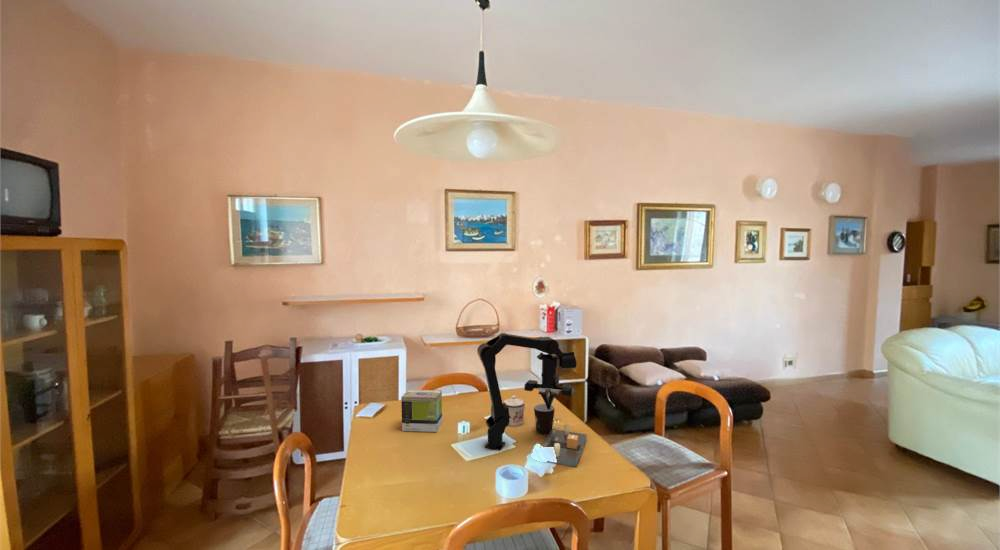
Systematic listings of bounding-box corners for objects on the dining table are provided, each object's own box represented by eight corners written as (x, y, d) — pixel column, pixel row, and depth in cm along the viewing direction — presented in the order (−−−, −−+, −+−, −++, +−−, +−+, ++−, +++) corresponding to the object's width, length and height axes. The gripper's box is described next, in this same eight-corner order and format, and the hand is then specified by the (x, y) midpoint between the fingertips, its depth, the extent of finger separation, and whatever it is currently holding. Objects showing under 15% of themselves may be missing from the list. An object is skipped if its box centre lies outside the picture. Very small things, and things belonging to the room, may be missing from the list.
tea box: (442, 423, 180) (442, 389, 179) (436, 433, 170) (436, 397, 170) (408, 421, 182) (408, 388, 181) (401, 431, 172) (400, 396, 171)
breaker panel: (576, 467, 143) (576, 459, 143) (537, 460, 148) (537, 452, 148) (586, 440, 164) (586, 434, 164) (551, 435, 169) (551, 428, 169)
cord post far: (568, 437, 161) (568, 427, 161) (563, 436, 162) (563, 426, 162) (569, 435, 163) (569, 425, 163) (564, 434, 164) (564, 424, 163)
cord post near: (559, 457, 145) (559, 445, 145) (553, 456, 146) (553, 445, 146) (560, 454, 147) (560, 443, 147) (554, 453, 148) (555, 442, 148)
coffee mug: (553, 436, 167) (554, 412, 167) (532, 434, 169) (532, 410, 168) (555, 425, 179) (556, 402, 178) (535, 423, 180) (535, 400, 180)
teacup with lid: (515, 428, 175) (515, 401, 174) (498, 422, 181) (498, 396, 180) (532, 420, 184) (532, 394, 183) (516, 414, 190) (516, 389, 189)
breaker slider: (576, 449, 151) (576, 439, 151) (566, 447, 152) (567, 437, 152) (578, 444, 154) (578, 435, 154) (568, 443, 155) (568, 433, 155)
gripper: (576, 367, 167) (576, 405, 168) (532, 362, 173) (531, 399, 174) (571, 374, 156) (571, 415, 157) (524, 369, 163) (523, 408, 164)
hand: (548, 409), depth 163 cm, fingers closed
